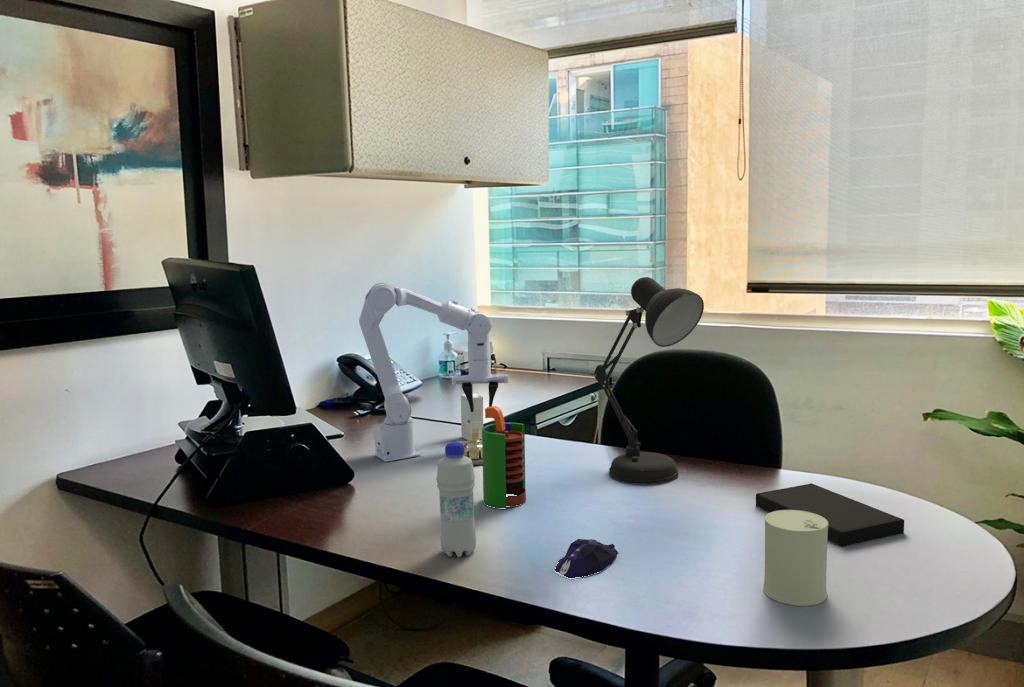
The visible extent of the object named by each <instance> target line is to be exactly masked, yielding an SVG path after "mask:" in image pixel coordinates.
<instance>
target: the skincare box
mask: <svg viewBox="0 0 1024 687" xmlns="http://www.w3.org/2000/svg"><path fill="white" fill-rule="evenodd" d="M473 404H474V412H471V410H470V405H469V402H468V399H467V397H466V395H465V393H462V394H460V413H461V414H460V417H461V418H460V421H461V423H460V425H461V426H460V427H461V431H460V433H461V438H463V439H465V441H468V440H470V441H471V440H472V429H480V439H482V428H483V427H484V396H482V395H480V394H478V393H475V392H473Z"/></svg>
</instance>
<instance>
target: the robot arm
mask: <svg viewBox="0 0 1024 687" xmlns="http://www.w3.org/2000/svg"><path fill="white" fill-rule="evenodd" d="M395 305H396V307H402V306H403V307H404V306H407V305H408V306H411V307H414V308H417V309H420V310H423V311H426V312H428V313H431V314H434V315H436V316H437V317H438V320H439V322H440V323H443V324H446V325H448V326H451V327H454V328H455V329H458V330H461V331H467V358H468V360H467V361H468V362H467V363H468V364H467V366H468V374H466V375H452V376H451V385H452V386H455V385H461V390H462V391H463V394H465V395H466V397H467V399H468V402H469V405H470V410H471V412H474V404H473V393H474V391H473V385H478V384H480V385H481V384H488V407H492V406H493V402H494V399H495V395H496V393H497V390H498V388H499V384H509V374H492V369H491V368H492V367H491V366H492V365H491V362H492V361H491V342H490V332H491V330H492V328H493V326H492V324H491V320H490V319H489V317H488V316H487V315H485V314H483V313H482V312H480V311H477V310H476V309H475V308H472V307H471V308H468V307H466V306H463V305H460V304H459V302H458V301H456V300H452V301H450V300H446V301H444V302H438V301H436V300H435V299H431V298H429V297H427V296H424V295H422V294H420V293H417V292H416V291H412V290H410V289H408V288H404V287H401V286H396V285H392V286H391V285H390V284H388V283H385V282H378V283H375V284H374V285H372V287H371V288H370V289H369V291H368V292H367V293H366V295H365V298H364V302H363V306H362V309H361V312H360V315H359V320H358V323H359V327H360V330H361V332H362V334H363V338H364V342H365V344H366V348H367V349H368V353H369V356H370V359H371V360H372V365H373V367H374V370H375V374H376V376H377V379H378V381H379V385H380V387H381V391H382V394H383V396H384V402H383V406H384V409H385V414H386V417H385V418H384V419H383V422H382V423H379V424H377V425H375V427H374V448H375V452H374V455H375V456H376V457H377V458H378V459H381V460H382V461H383V462H385V463H386V462H393V461H398V460H403V459H410V458H415V457H421V454H420V453H419V452H417V451H416V450H415V444H414V443H415V442H414V441H415V440H414V424H413V422H414V421H413V417H411V415H412V412H413V411H412V406H411V404H410V402H409V399H408V397H407V396H406V395H405V394H404V393H403V392H402V389H401V386H400V384H399V380H398V377H397V373H396V372H395V368H394V366H393V363H392V360H391V357H390V354H389V351H388V348H387V345H386V343H385V339H384V336H383V334H382V330H381V327H380V323H381V321H382V320H383V318H384V317H385V314H387V313H388V311H390V310H391V309H393V307H394V306H395Z"/></svg>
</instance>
